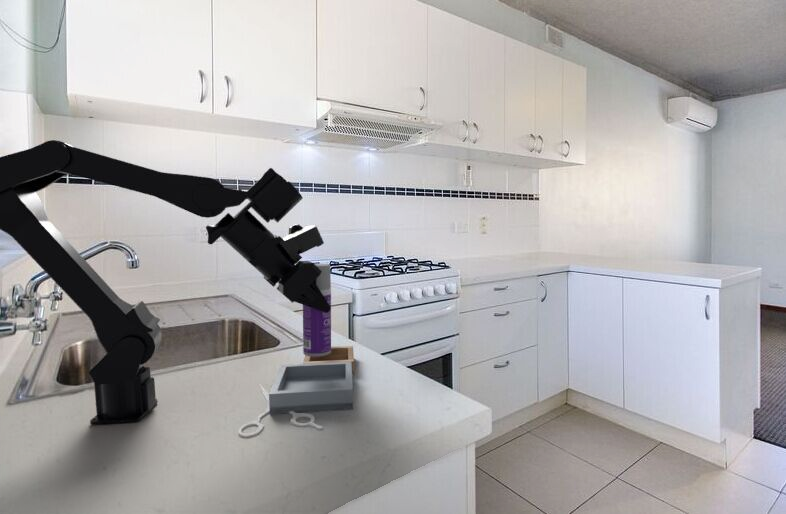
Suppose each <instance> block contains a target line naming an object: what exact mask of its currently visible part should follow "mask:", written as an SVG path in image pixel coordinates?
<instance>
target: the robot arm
mask: <svg viewBox="0 0 786 514" xmlns="http://www.w3.org/2000/svg"><path fill="white" fill-rule="evenodd" d="M69 175H74V176H77V177H80V178H85V179H89V180H91V181H96V182H98V183H104V184H107V185H110V186H114V187H118V188H121V189H122V188H123V189H126V190H129V191H133V192H137V193H140V194H144V195H147V196H148V195H149V196H151V197H155V198H158V199H159V200H161V201H164V202H167V203H169V204H171V205H173V206H175V207H177V208H179V209H182V210H184V211H186V212H189V213H191V214H193V215H196V216H198V217H201V218H206V219H207V218H215V217H217V216H219V215H221V214H222V213H223V212H224V211H226V209H228V208H233V207H238V206H240V205H242V203H244V202H245V201H246V200H248V201H249V202H248V203H247V204H246V205H245V206H244V207H243V208H241V210H240V211H238V212H237V213H235V215H234V216H232V214H230V213H229V212H227V213H226V214H225V215H224V216H223V217H222V218H220V220H219V221H217V223H216V224H215V225H214V224H213V225H210V224H207V225H206V226H205V229H206V232H207V244H208V245H213V244H215V242H216V241H218V239H219V238H221V239H223V240H224V241H225V242H226V243H227V245H228V246H230V247H232V248H233V250H235V251H236V253H238V254H239V255H241V257H243V259H245V260H246V261H247V263H249V265H251V266H253V267H254V268H255V270H256V271H258V272H259V273H260V274H261V275H262V276H263V279H264V280H265V281H266V282H267V283H268V284H269V285H270V286H272V287H273V288H275V286H276V285H277V283H278V286H277V287H276V290H277V291H278V292H280V294H281V295H283V296H284V297H285V298H286V299H287V300H289V301H290V303H297V304H300V305H302V306H303V305H306V306H308V307H311V308H314V309H317V310H320V311H323V312H325V313H328V312H329V311H330V310H331V311H332V306H331V307H330V305H329V303H328V302H327V300H326V299H325V297H324V296H323V294H322V293H321V291H320V289H319V288H318V286H317V284H316V281H317V278H318V277H319V276H320V274H321V272H322V271H321V270H320V269H319V268H318V267H317V266H316V265H315V264H314V262H312V261H309V260H302V259H303V256H302V255H301V254H304V253H306V252H307V251H309V250H312V249H314V248H316V247H317V248H319V247H320V246H322V245H324V244H325V242H324V240H323V238H322V235H321V233H320V231H319V228H318V226H317V225H312V224H311V225H306V226H305V227H303V226H301V225H300V224H298V223H297V224H296V223H295V224H293V225H291V226H289V227H288V234H287V235H285V237H281V235H276V234H274V233H273V232H271V230H269V229H268V228H267V226H266V225H264V224H263V223H262V222H261V221H260V220H259V219H258V218H257V217H256V216H255V215H254V214H253V213H252V212H251V211H249V210H251V209H252V210H253V211H254V212H256V214H257V215H258V216H259V217H260V218H261V219H263V220H264V221H265V222H266V223H267V224H268V223H269V222H271V221H274V222H275V223H279V222H281V220H282V219H283V218H285V216H286V215H287V214H288V213H289V212H290V211H292V210H293V209H294V207H295V206H297V204H299V203H300V201H302V200H303V195H302V194H301V193H300V191H299V190H298V189H297V188H296V187H295V186H294V185H293V184H292V183H291V182H290V180H288V181H287V180H286V179H285V178H284V177H283V176H282V175H280V174H279V172H276V171H275V170H274V168H272V167H269V168H268V169H267V170H266V171H264V173H263V175H262V176H261V177H260V178H259V179H258V180H257V182H255V183H254V184H253V185H252V186H251V187H250V188H249V189H248V190H247V191H244V190H242V189H241V188H239V189H233V188H230V187H229V188H228V187H225V186H224V185H223V184H222V183H221V182H219V181H218V180H217V179H214V178H212V177H207V176H198V175H191V174H183V173H182V174H180V173H170V172H162V171H159V170H156V169H155V170H154V169H152V168H149V167H144V166H141V165H137V164H134V163H131V162H128V161H124V160H120V159H117V158H114V157H113V158H112V157H110V156H106V155H104V154H103V155H102V154H99V153H96V152H92V151H89V150H85V149H82V148H78V147H74V146H73V145H71V144H68V143H66V142H63V141H61V140H55V139H53V140H46V141H45V142H42V143H41V144H38V145H36V146H34V147H31V148H28V149H24V150H20V151H17V152H13V153H10V154H7V155H3V156H0V231H2V232H4V233H5V234H7V235H8V236H10V237H11V238H12V239H13V240H14V241H15V242H16V243H17V244H18V245H19V246H20V247H21V248H22V249H23V250H24V251H25V252H26V254H28V255H29V257H30V258H31V259H32V260H34V261H35V263H36V264H37V265H38V266H39V267H40V268H41V269H42V270H43V271H44V272H45V273H46V274H47V276H49V278H50V279H51V280H52V281H53V282H54V283H55V284H56V285H57V286H58V287H59V288H60V290H62V291H63V292H64V293H65V294H66V295H67V296H68V297H69V298H70V299H71V301H72V302H73V303H74V304H75V305H76V306H77V307H78V308H79V309H80V310H81V311H82V312H83V313H84V314H85V315H86V317H87V318H89V320H90V321H91V325H92V326H93V329H94V332H95V335H96V337H97V339H98V342H99V344H100V345H101V346H102V348H103V349H104V351H105V353H104V355H102V357H101V358H100V359H99V360H98V361H97V362H96V363H95V364H94V365H93V366H92V367H91V369H90V370H89V372H88V373H89V376H90V378H91V379H92V381H93V386H94V396H95V397H94V398H95V399H94V400H95V409H96V415H95V416H94V417H92V418H91V419H90V420H89V422H90V423H89V424H90V425H100V424H118V423H119V424H121V423H136V422H139V421H140V420H142V419H143V418H144V417H145V416H146V415H147V414H148V413H149V412H150V411H151V410H152V409H153V408H154V406H156V405H157V404H158V398H157V397H156V383H155V378H154V377H151V376H152V375H151V367H150V366H143V365H144V364H145V363H147V362H148V361H150V359H152V357H153V355H154V353H155V352H156V350H157V349H158V346H159V345H160V343H161V341H162V335H163V333H162V328H161V326H160V325H159V323H160V321H161V319H160V318H158V317H157V316H155V315H154V314H152V313H151V312H150V310H149V308H148V307H147V305H146V303H144V301H143V300H139V302H137V303H136V304H135V305H132V304H130V303H128V302H127V301H125V300H123V299H122V298H120V297H119V296H118V295H117V294H116V293H115V291H114V290H113V289H112V288H111V287H110V285H108V283H107V282H106V281H105V280H104V279H103V278H102V277H101V276H100V275H99V274H98V273H97V271H95V269H94V268H93V267H92V266H91V265H90V264H89V263H88V261H86V260H85V258H84V256H82V255H81V254H80V253H79V252H78V251H77V249H76V248H75V247H74V246H73V245H72V244H71V243H70V242H69V241H68V240H67V239H66V237H65V236H63V234H62V232H60V231H59V230H58V228H56V227H55V225H54V224H53V223H52V222H51V221H50V220H49V219H48V216H47V213H46V211H45V208H44V205H43V204H42V203H43V202H42V201H41V198H40V197H39V195H38V193H37V192H39V191H42V190H43V189H46V188H48V187H49V186H52V185H53V184H54V183H56V182H57V181H58V180H60V179H62V178H65V177H66V176H69Z"/></svg>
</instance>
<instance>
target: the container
mask: <svg viewBox="0 0 786 514" xmlns="http://www.w3.org/2000/svg"><path fill="white" fill-rule="evenodd" d="M313 263H314V262H313ZM314 264H315V265H316V266H317V267H318V268H319V269H320V270H321V271H322V272H321V274H320V276H319V277H318V278H317V281H316V284H317V286H318V288H319V289H320V291H321V293H322V294H323V296H324V297H325V299H326V300H327V302H328V303H329V305H330V307H331V308H332V288H331V286H332V285H331V284H332V282H331V264H329V263H321V262H320V263H319V262H318V263H317V262H316V263H314ZM302 340H303V343H302V345H303V347H302V350H303V355H304V356H305V355H307V356H312V357H319V356H325V355H328V354H330V353H331V347H332V309H331V310H330V311H329V312H328V313H325V312H323V311H320V310H317V309H314V308H311V307H308V306H306V305H303V304H302Z"/></svg>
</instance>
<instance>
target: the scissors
mask: <svg viewBox="0 0 786 514" xmlns="http://www.w3.org/2000/svg"><path fill="white" fill-rule="evenodd" d="M258 385H259V388H260V390H261V392H262V394H263V396H264V398H265V400H266V402H267V407H266V408H265V410H264V412H263V413H261V414H258V415H257V418H256V419H255V420H252V421H250V422H247V423H245V424H243V425H242V426H241V427H239V428H238V435H239V436H240V437H242V438H247V439H248V438H252V437H255V436H256V435H259V434H260V433H261V432H262V431H264V427H265V425H264V424H263V423H261V419H263V418H264V417H266V415H268V414H270V409H269V393H270V392H268V390H267V389H266V388H264V387H263V386H262V385H261V384H260V383H259V382H258ZM288 414H290V415H291V416H292V418H291V419H290V420H289V423H290V424H291V425H293V426H296V427H312V428H314V429H316V430H318V431H321V430H323V426H322V425H319V424H316V423H315V421H316V420H315V419H316V418H315V416H314V415H313V414H311V413H307V412H294V411H289V413H288ZM304 417H305V418H309V419H310V421H307V422H303V423H302V422H298V421H296V420H297V419H298V418H304ZM253 426H256V427H257V429H256V430H255V431H254V432H251V433H243V430H245V429H247V428H248V427H253Z"/></svg>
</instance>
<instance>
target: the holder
mask: <svg viewBox="0 0 786 514" xmlns="http://www.w3.org/2000/svg"><path fill="white" fill-rule="evenodd" d="M332 362H351V366H352V376H355V355H354V345H343V346H341V345H340V346H331V353H330V354H328V355H325V356H319V357H312V356H307V355H304V358H303V361H302V364H311V363H332Z"/></svg>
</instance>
